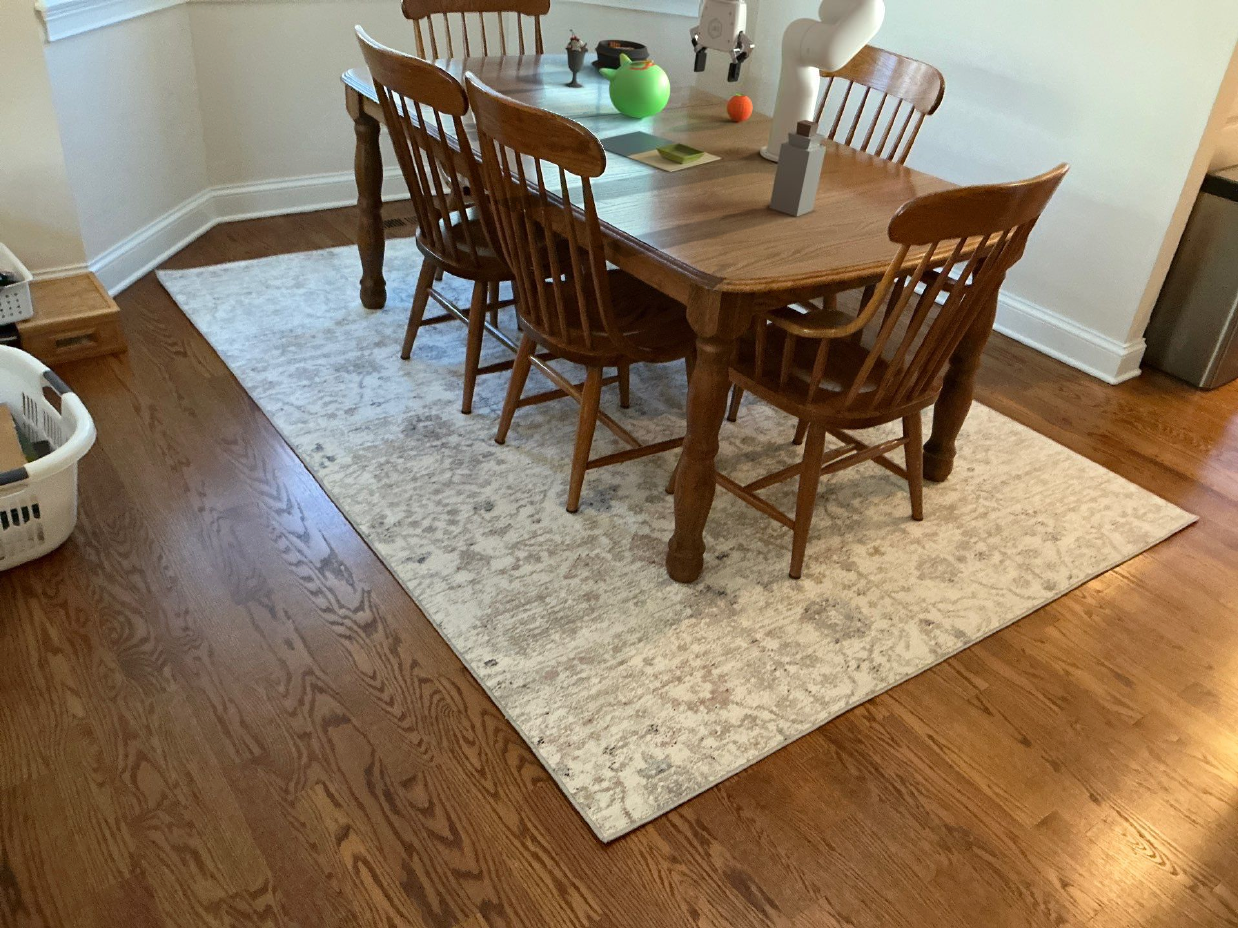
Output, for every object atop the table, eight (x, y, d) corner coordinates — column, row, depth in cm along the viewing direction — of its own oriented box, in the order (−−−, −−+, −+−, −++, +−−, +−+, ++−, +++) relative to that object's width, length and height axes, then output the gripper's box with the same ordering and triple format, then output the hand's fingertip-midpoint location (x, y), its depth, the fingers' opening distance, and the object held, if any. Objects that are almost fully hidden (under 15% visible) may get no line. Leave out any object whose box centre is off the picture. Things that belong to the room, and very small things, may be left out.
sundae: (558, 83, 287) (562, 27, 279) (579, 82, 290) (583, 28, 281) (567, 88, 282) (571, 32, 274) (588, 88, 285) (593, 33, 277)
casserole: (586, 62, 315) (589, 34, 310) (644, 66, 318) (646, 39, 313) (594, 80, 294) (597, 50, 290) (655, 84, 297) (658, 55, 293)
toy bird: (654, 129, 254) (661, 69, 246) (593, 117, 257) (598, 58, 249) (674, 115, 268) (681, 58, 260) (616, 104, 272) (621, 48, 264)
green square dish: (705, 161, 233) (706, 152, 232) (682, 166, 227) (683, 157, 226) (677, 151, 237) (678, 142, 236) (654, 156, 232) (655, 147, 231)
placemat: (721, 158, 237) (721, 158, 236) (669, 172, 223) (669, 171, 223) (639, 132, 250) (639, 131, 250) (586, 143, 237) (586, 142, 236)
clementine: (718, 121, 267) (722, 94, 264) (724, 115, 273) (728, 89, 269) (747, 126, 266) (751, 99, 262) (752, 121, 271) (756, 94, 267)
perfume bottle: (785, 201, 213) (802, 116, 203) (812, 210, 210) (830, 124, 200) (769, 207, 209) (785, 121, 199) (796, 216, 205) (814, 129, 196)
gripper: (686, -14, 213) (675, 69, 223) (749, 1, 204) (735, 87, 213) (708, -14, 218) (696, 67, 228) (770, 0, 209) (755, 84, 218)
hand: (715, 76), depth 220 cm, fingers open, 9 cm apart
